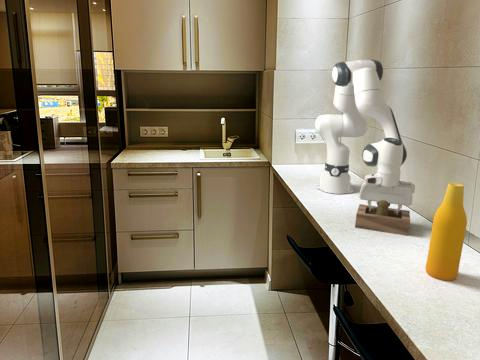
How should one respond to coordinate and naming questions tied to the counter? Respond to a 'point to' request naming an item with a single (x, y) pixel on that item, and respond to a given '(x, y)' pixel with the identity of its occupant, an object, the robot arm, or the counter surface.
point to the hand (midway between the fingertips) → (383, 212)
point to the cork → (382, 208)
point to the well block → (383, 220)
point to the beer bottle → (447, 235)
